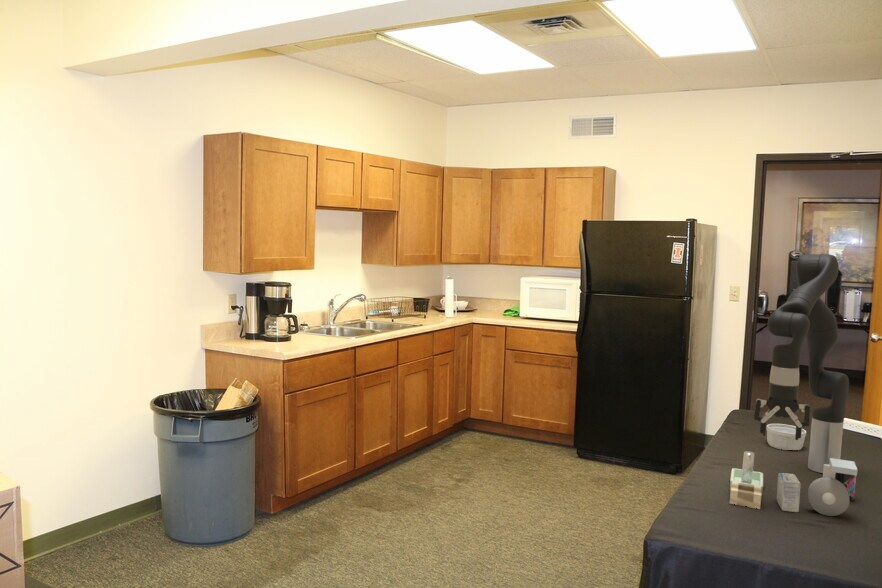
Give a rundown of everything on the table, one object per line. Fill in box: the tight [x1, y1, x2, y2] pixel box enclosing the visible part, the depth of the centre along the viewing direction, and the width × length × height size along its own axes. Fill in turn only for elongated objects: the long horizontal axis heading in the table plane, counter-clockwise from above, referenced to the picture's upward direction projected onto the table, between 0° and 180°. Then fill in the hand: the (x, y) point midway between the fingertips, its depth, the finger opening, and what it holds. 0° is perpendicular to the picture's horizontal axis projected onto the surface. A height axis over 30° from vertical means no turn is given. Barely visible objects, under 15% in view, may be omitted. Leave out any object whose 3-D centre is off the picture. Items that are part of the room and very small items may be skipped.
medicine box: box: [776, 472, 801, 513], centre depth 202 cm, size 8×4×9 cm, turn 165°
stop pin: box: [741, 450, 755, 484], centre depth 217 cm, size 3×3×10 cm
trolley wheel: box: [807, 458, 858, 517], centre depth 198 cm, size 8×11×15 cm
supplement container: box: [835, 463, 858, 502], centre depth 211 cm, size 7×7×10 cm
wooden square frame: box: [729, 482, 762, 510], centre depth 205 cm, size 8×8×4 cm
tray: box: [729, 467, 764, 498], centre depth 218 cm, size 14×9×3 cm, turn 156°
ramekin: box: [766, 423, 807, 451], centre depth 262 cm, size 13×13×7 cm
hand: (779, 437), depth 204 cm, fingers open, 8 cm apart
